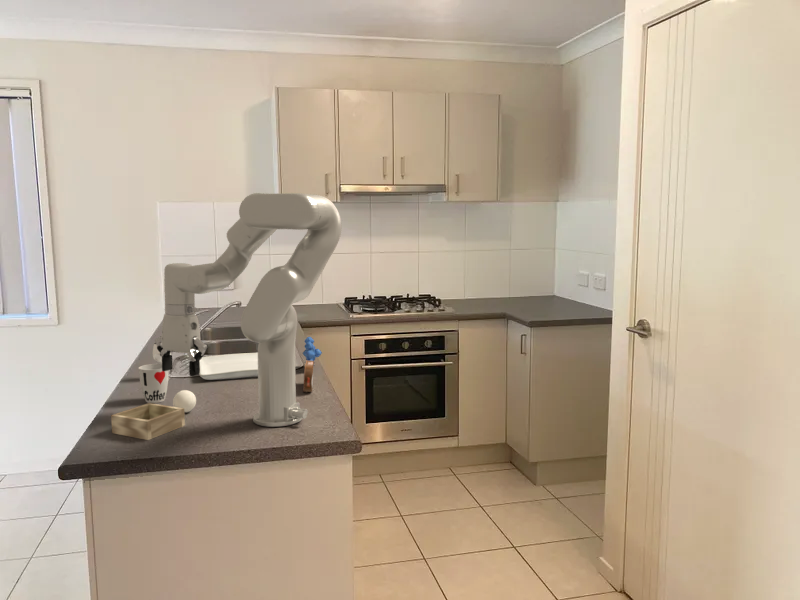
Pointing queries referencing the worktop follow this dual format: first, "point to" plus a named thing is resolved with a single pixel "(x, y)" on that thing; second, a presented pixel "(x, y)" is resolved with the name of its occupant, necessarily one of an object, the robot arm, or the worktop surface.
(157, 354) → the wineglass
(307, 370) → the tin
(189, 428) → the worktop surface
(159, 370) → the cup
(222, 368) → the square plate
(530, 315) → the worktop surface
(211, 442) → the worktop surface
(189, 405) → the ball
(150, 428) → the wooden square tray
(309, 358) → the grapes
